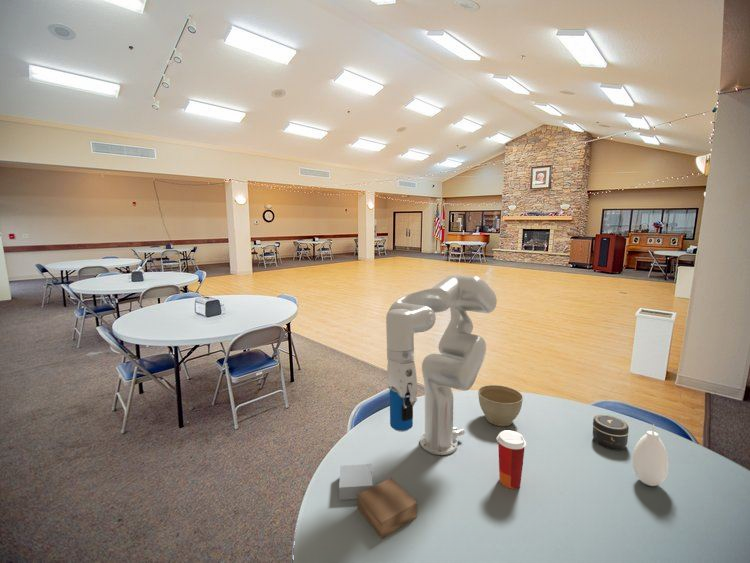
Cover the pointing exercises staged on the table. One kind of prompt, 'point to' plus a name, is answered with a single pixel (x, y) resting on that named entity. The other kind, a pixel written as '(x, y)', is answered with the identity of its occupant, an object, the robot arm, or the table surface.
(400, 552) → the table surface
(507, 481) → the paper cup
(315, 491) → the table surface
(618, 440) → the jar
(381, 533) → the walnut block
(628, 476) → the table surface
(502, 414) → the planter bowl
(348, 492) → the grey square block
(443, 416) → the robot arm
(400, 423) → the beverage can
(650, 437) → the white egg shaped candle
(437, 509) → the table surface
